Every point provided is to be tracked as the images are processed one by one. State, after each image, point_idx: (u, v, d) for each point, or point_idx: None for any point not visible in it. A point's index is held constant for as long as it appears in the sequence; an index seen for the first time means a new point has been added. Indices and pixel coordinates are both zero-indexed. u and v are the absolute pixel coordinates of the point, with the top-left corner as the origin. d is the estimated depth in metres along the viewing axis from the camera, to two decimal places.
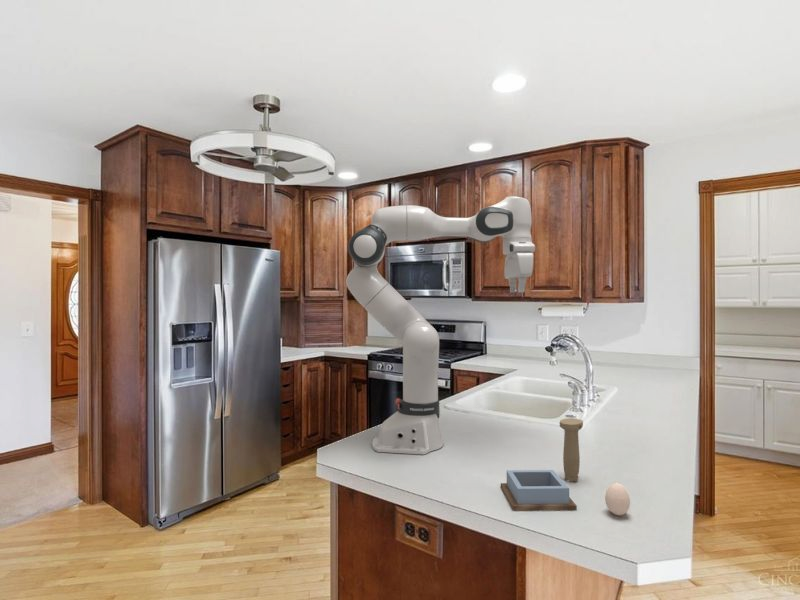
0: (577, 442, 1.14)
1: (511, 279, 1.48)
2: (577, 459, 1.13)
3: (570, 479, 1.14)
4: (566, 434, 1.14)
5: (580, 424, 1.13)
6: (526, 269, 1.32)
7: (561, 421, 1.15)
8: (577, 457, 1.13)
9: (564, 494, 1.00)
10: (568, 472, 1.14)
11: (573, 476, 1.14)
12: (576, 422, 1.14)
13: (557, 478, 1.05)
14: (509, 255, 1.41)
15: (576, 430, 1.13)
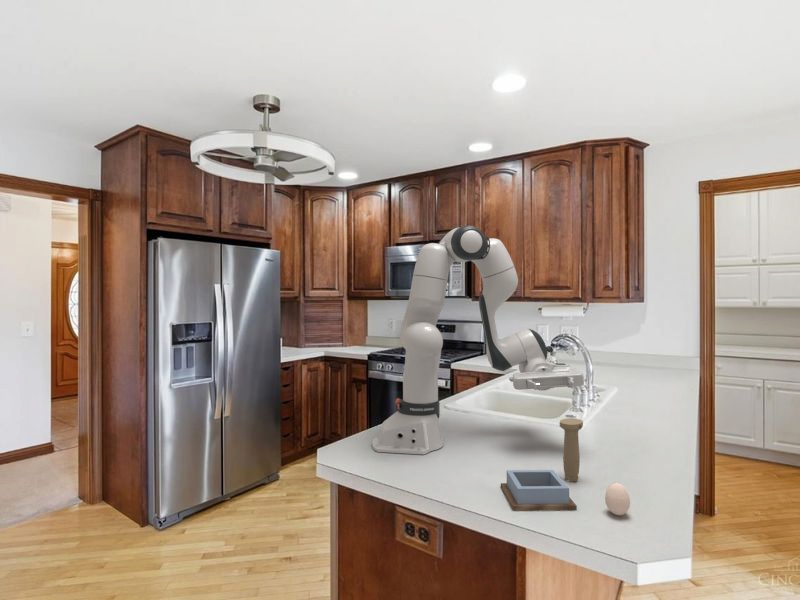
0: (577, 442, 1.14)
1: None
2: (577, 459, 1.13)
3: (570, 479, 1.14)
4: (566, 434, 1.14)
5: (580, 424, 1.13)
6: None
7: (561, 421, 1.15)
8: (577, 457, 1.13)
9: (564, 494, 1.00)
10: (568, 472, 1.14)
11: (573, 476, 1.14)
12: (576, 422, 1.14)
13: (557, 478, 1.05)
14: (547, 367, 1.38)
15: (576, 430, 1.13)
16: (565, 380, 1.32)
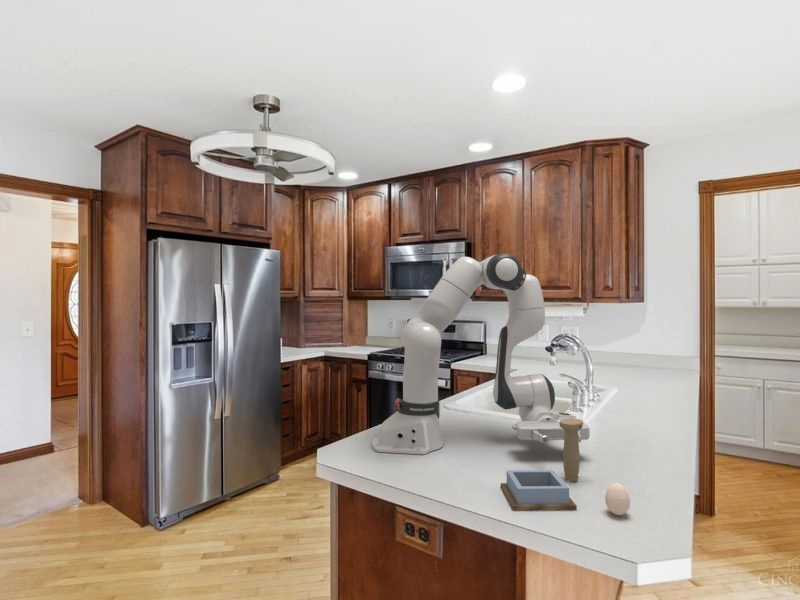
0: (577, 442, 1.14)
1: None
2: (577, 459, 1.13)
3: (570, 479, 1.14)
4: (566, 434, 1.14)
5: (580, 424, 1.13)
6: None
7: (561, 421, 1.15)
8: (577, 457, 1.13)
9: (564, 494, 1.00)
10: (568, 472, 1.14)
11: (573, 476, 1.14)
12: (576, 422, 1.14)
13: (557, 478, 1.05)
14: (551, 417, 1.34)
15: (576, 430, 1.13)
16: None
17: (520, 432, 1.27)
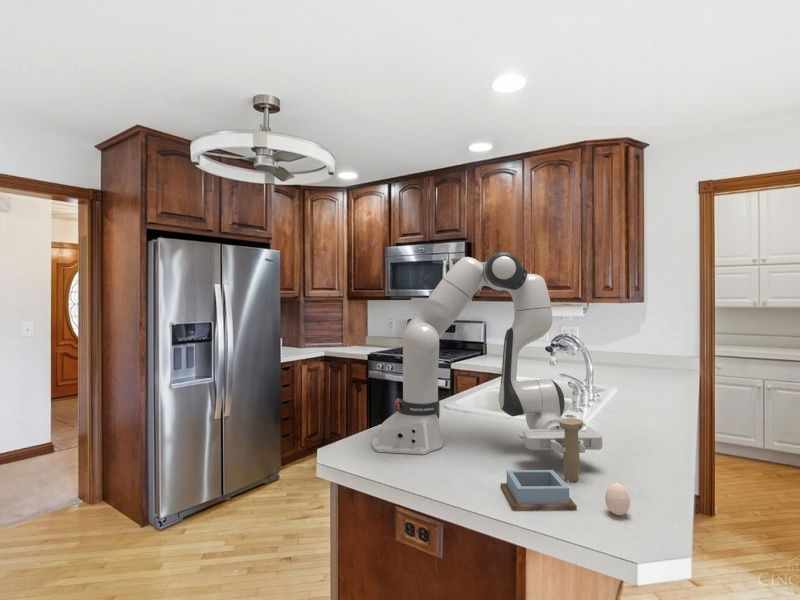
0: (577, 442, 1.14)
1: None
2: (577, 459, 1.13)
3: (570, 479, 1.14)
4: (566, 434, 1.14)
5: (580, 424, 1.13)
6: None
7: (561, 421, 1.15)
8: (577, 457, 1.13)
9: (564, 494, 1.00)
10: (568, 472, 1.14)
11: (573, 476, 1.14)
12: (576, 422, 1.14)
13: (557, 478, 1.05)
14: None
15: (576, 430, 1.13)
16: None
17: (528, 441, 1.19)
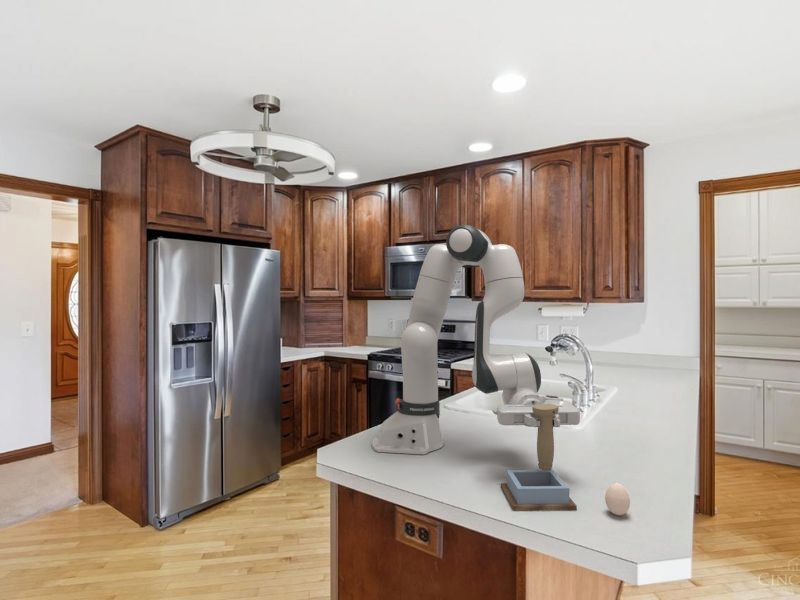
0: (551, 429, 1.07)
1: None
2: (550, 447, 1.07)
3: (542, 467, 1.07)
4: None
5: (554, 409, 1.06)
6: None
7: (534, 406, 1.08)
8: (550, 444, 1.06)
9: (564, 494, 1.00)
10: (541, 460, 1.07)
11: (546, 465, 1.07)
12: (550, 407, 1.07)
13: (557, 478, 1.05)
14: None
15: (549, 416, 1.06)
16: None
17: (501, 416, 1.12)
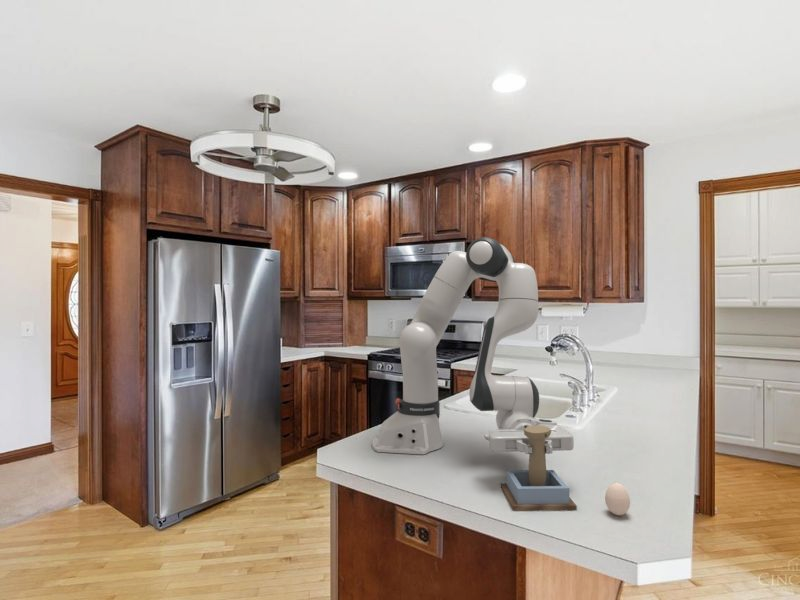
0: (543, 452, 1.04)
1: None
2: (542, 471, 1.04)
3: None
4: (531, 443, 1.05)
5: (546, 433, 1.03)
6: None
7: (526, 428, 1.05)
8: (542, 468, 1.04)
9: (564, 494, 1.00)
10: (532, 484, 1.04)
11: None
12: (542, 430, 1.04)
13: (557, 478, 1.05)
14: (530, 424, 1.15)
15: (541, 439, 1.03)
16: None
17: (492, 442, 1.09)
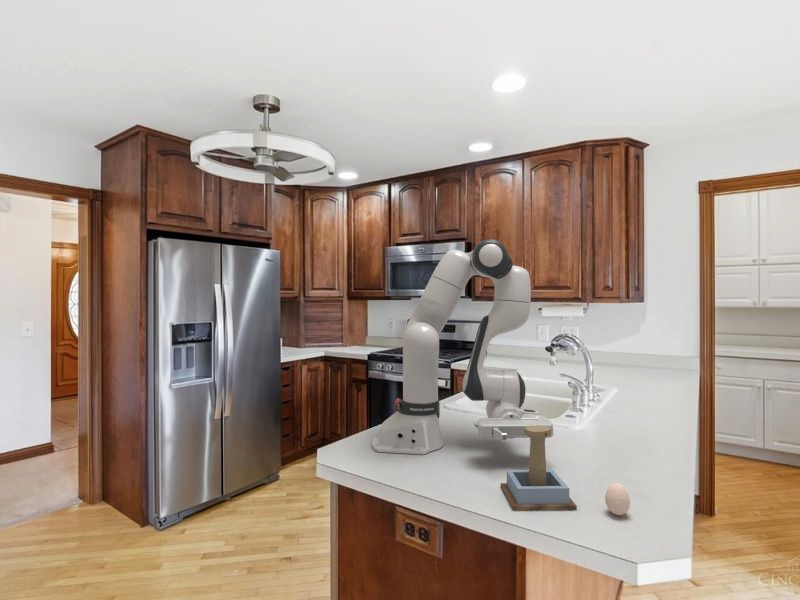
0: (543, 451, 1.04)
1: None
2: (542, 470, 1.04)
3: None
4: (531, 442, 1.05)
5: (546, 432, 1.04)
6: None
7: (526, 428, 1.06)
8: (542, 468, 1.04)
9: (564, 494, 1.00)
10: (533, 484, 1.05)
11: None
12: (542, 429, 1.05)
13: (557, 478, 1.05)
14: (515, 414, 1.28)
15: (541, 438, 1.04)
16: None
17: (480, 429, 1.22)
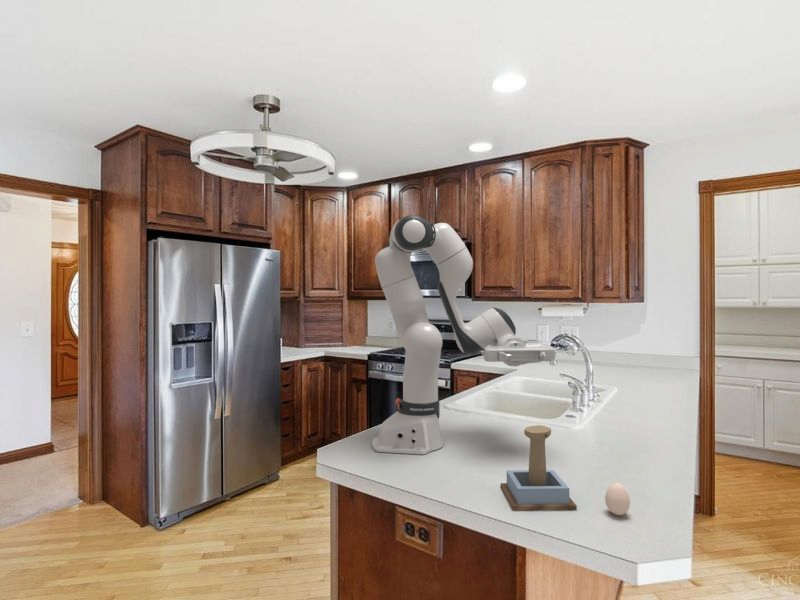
0: (543, 452, 1.04)
1: None
2: (542, 471, 1.04)
3: None
4: (531, 443, 1.05)
5: (546, 433, 1.03)
6: None
7: (526, 428, 1.05)
8: (542, 468, 1.04)
9: (564, 494, 1.00)
10: (533, 484, 1.04)
11: None
12: (542, 430, 1.04)
13: (557, 478, 1.05)
14: (519, 342, 1.35)
15: (541, 439, 1.03)
16: (537, 354, 1.29)
17: (486, 354, 1.29)
